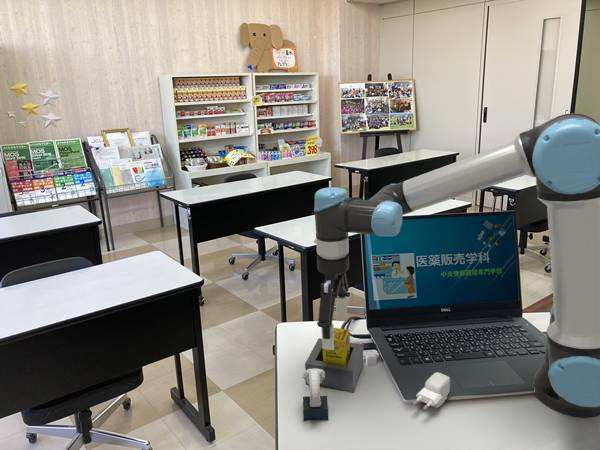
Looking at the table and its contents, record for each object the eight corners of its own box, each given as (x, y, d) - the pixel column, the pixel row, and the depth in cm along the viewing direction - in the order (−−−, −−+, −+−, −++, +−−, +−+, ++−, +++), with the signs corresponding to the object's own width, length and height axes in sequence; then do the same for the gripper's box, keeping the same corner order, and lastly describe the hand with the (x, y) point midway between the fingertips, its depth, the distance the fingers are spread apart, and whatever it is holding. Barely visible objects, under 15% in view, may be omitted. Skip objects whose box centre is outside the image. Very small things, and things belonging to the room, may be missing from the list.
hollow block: (363, 364, 124) (363, 344, 122) (353, 392, 114) (353, 371, 112) (319, 357, 128) (318, 338, 126) (306, 384, 117) (305, 363, 115)
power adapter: (428, 424, 102) (429, 401, 101) (408, 414, 106) (409, 392, 104) (452, 398, 110) (453, 376, 108) (433, 389, 113) (434, 368, 112)
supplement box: (346, 379, 118) (345, 341, 114) (323, 376, 119) (321, 338, 116) (350, 366, 123) (350, 328, 120) (328, 363, 125) (326, 326, 121)
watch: (326, 401, 111) (325, 361, 108) (328, 425, 103) (327, 383, 100) (303, 402, 111) (301, 361, 108) (303, 426, 103) (301, 384, 100)
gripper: (330, 235, 123) (333, 308, 129) (300, 273, 101) (305, 360, 107) (359, 237, 121) (360, 311, 127) (335, 276, 98) (337, 364, 105)
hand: (335, 334), depth 117 cm, fingers open, 13 cm apart
